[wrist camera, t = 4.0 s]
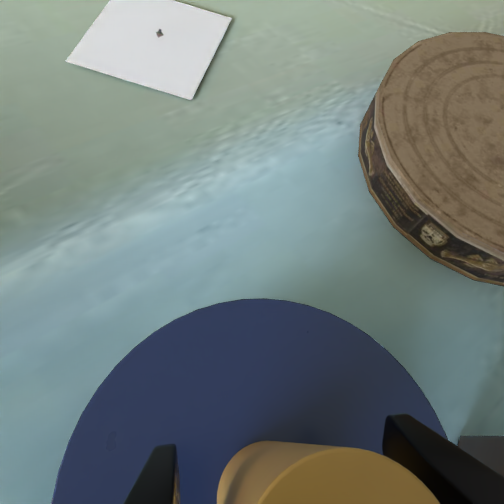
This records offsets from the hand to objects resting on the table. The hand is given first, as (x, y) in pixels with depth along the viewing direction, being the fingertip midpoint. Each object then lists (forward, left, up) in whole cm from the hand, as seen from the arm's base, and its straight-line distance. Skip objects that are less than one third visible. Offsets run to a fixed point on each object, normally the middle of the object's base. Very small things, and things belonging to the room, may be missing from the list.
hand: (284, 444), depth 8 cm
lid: (-1, -1, -4) cm, 4 cm away
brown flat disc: (+20, -5, -10) cm, 23 cm away
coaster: (+17, +17, -10) cm, 26 cm away
